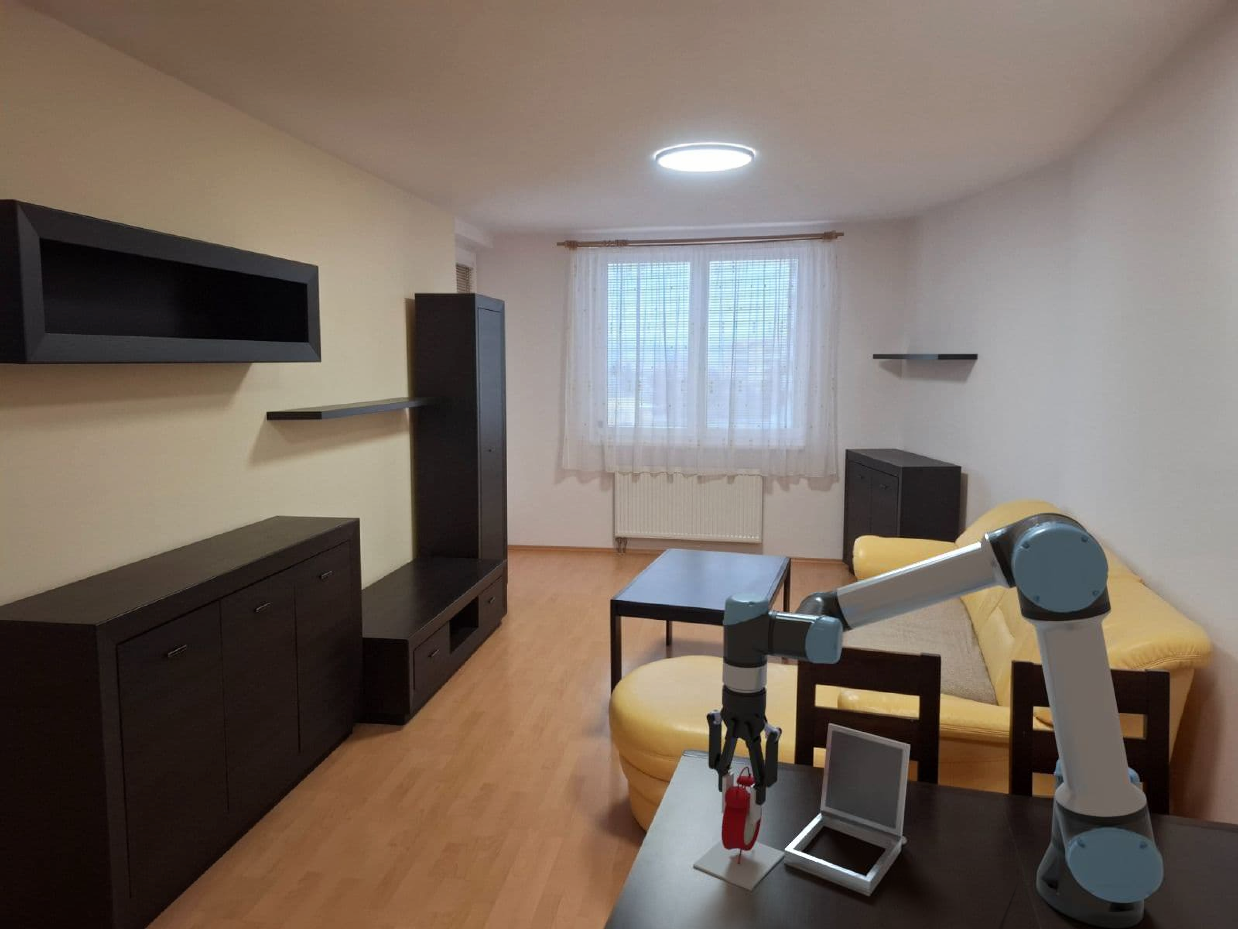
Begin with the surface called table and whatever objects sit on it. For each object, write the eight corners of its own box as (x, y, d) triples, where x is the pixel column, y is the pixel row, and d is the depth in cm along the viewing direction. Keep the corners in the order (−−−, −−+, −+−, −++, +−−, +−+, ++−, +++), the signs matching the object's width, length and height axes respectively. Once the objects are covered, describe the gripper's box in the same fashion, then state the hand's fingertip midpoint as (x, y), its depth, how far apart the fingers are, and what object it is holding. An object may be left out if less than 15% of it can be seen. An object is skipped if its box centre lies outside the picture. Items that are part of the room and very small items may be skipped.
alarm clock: (739, 873, 137) (760, 795, 133) (705, 854, 139) (725, 778, 136) (759, 842, 146) (780, 769, 142) (728, 825, 148) (747, 753, 145)
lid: (899, 836, 144) (902, 835, 145) (908, 746, 144) (910, 744, 145) (819, 809, 152) (822, 808, 153) (827, 724, 153) (830, 723, 154)
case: (900, 852, 145) (901, 836, 144) (869, 896, 132) (869, 879, 132) (820, 824, 154) (821, 809, 153) (784, 863, 141) (784, 847, 140)
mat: (785, 854, 143) (785, 852, 143) (750, 890, 133) (750, 888, 133) (730, 834, 150) (730, 831, 150) (693, 866, 139) (693, 864, 139)
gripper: (802, 690, 136) (797, 823, 138) (710, 668, 147) (707, 791, 149) (782, 704, 130) (778, 842, 132) (688, 679, 141) (686, 808, 143)
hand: (741, 815), depth 141 cm, fingers closed on alarm clock, 5 cm apart
